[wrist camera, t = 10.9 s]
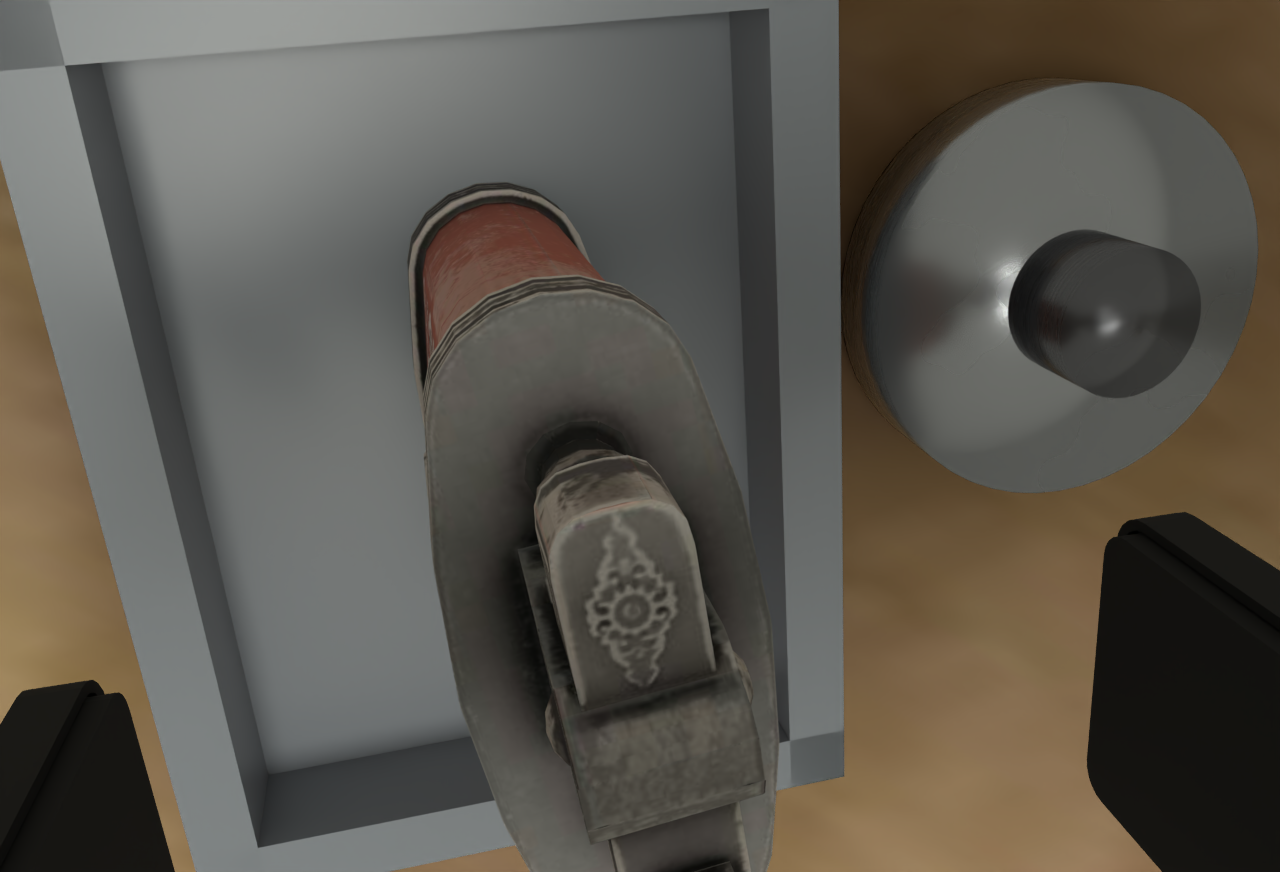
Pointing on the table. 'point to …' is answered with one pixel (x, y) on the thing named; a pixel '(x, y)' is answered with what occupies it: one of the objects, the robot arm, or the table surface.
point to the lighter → (588, 553)
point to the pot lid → (1050, 280)
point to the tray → (400, 352)
